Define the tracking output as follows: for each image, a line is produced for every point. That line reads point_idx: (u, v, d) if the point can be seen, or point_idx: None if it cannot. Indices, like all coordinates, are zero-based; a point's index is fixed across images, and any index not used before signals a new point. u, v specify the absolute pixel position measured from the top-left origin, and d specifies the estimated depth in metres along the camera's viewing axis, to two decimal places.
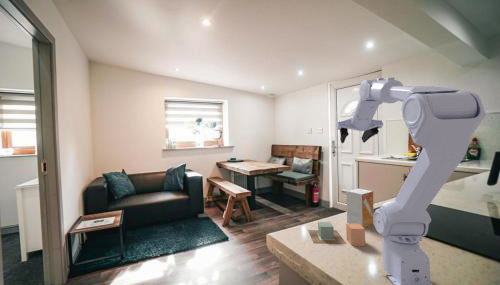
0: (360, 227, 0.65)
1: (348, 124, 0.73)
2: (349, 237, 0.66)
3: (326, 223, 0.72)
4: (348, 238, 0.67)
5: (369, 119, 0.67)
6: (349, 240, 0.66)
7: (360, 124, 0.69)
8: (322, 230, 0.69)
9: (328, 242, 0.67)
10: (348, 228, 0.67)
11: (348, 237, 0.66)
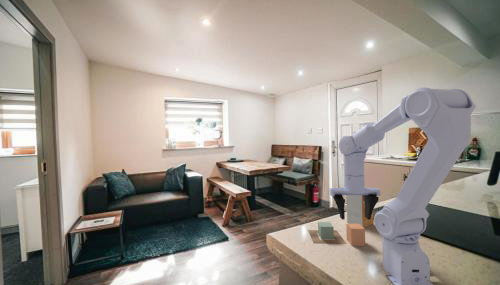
0: (360, 227, 0.65)
1: (341, 190, 0.66)
2: (349, 237, 0.66)
3: (326, 223, 0.72)
4: (348, 238, 0.67)
5: (360, 176, 0.63)
6: (349, 240, 0.66)
7: (353, 184, 0.64)
8: (322, 230, 0.69)
9: (328, 242, 0.67)
10: (348, 228, 0.67)
11: (348, 237, 0.66)
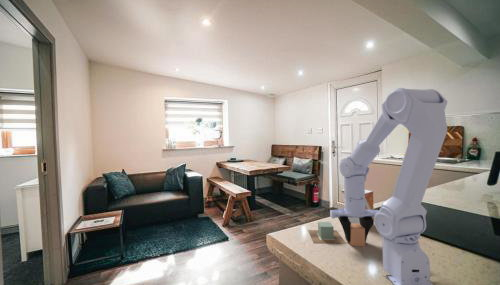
0: (360, 227, 0.65)
1: (342, 212, 0.66)
2: None
3: (326, 223, 0.72)
4: None
5: (361, 200, 0.63)
6: None
7: (354, 207, 0.64)
8: (322, 230, 0.69)
9: (328, 242, 0.67)
10: None
11: None
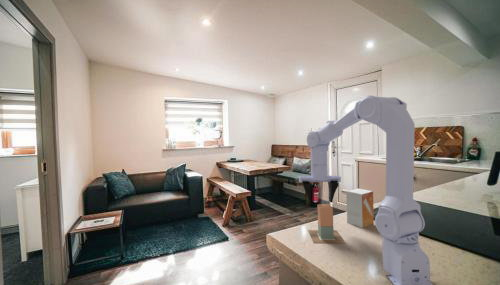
0: (329, 207, 0.70)
1: None
2: (319, 216, 0.71)
3: None
4: (318, 217, 0.72)
5: (323, 165, 0.75)
6: (319, 219, 0.71)
7: (317, 171, 0.75)
8: (322, 230, 0.69)
9: (328, 242, 0.67)
10: (318, 208, 0.71)
11: (318, 216, 0.71)
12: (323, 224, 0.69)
